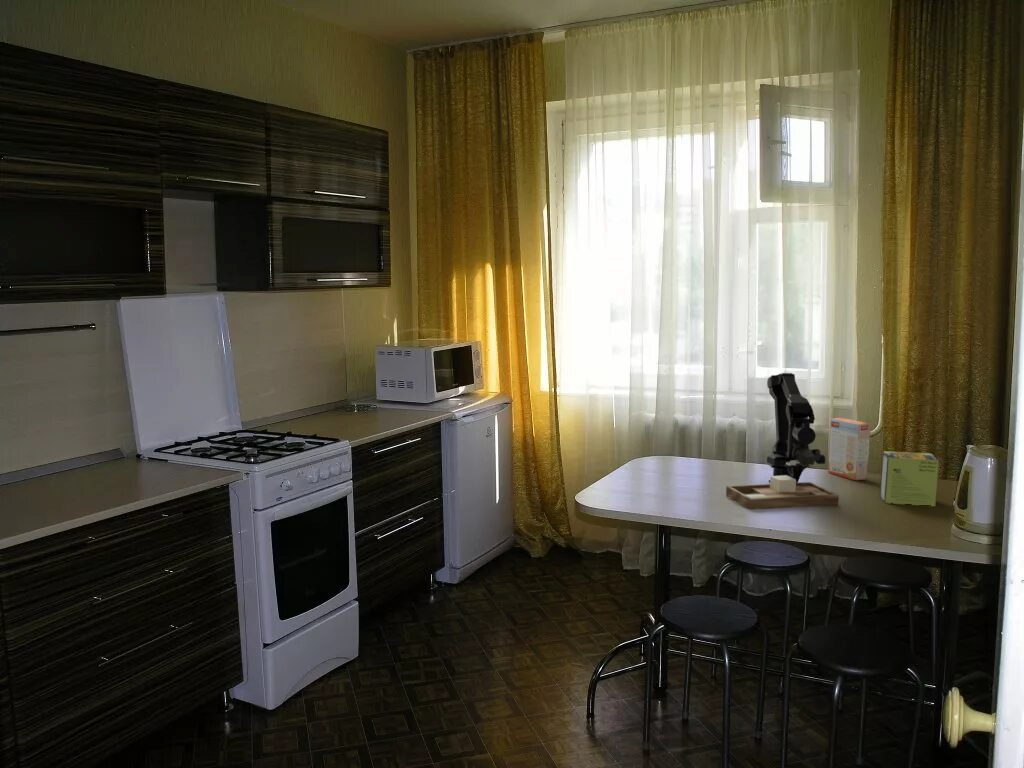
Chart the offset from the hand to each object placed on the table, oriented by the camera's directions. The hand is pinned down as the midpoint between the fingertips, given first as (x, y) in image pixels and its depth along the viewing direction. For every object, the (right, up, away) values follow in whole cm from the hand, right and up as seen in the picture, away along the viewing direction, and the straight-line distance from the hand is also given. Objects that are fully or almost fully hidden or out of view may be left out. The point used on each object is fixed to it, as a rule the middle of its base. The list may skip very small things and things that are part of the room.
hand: (795, 484), depth 289 cm
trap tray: (-6, -5, -5) cm, 9 cm away
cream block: (-4, -2, -1) cm, 5 cm away
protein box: (+36, -5, -4) cm, 36 cm away
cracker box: (+29, -1, +29) cm, 41 cm away
